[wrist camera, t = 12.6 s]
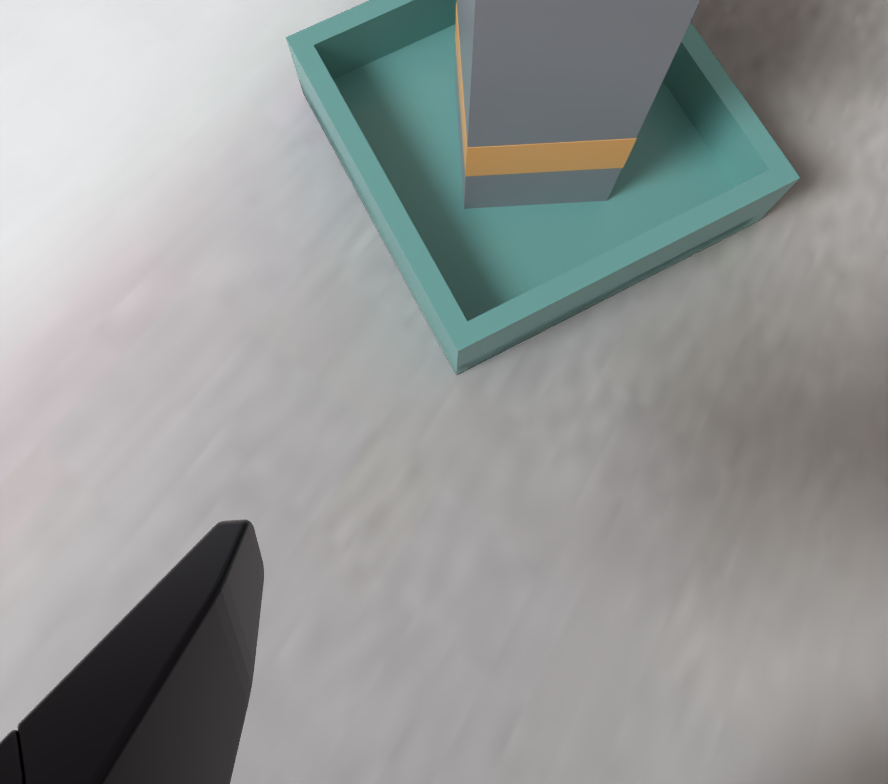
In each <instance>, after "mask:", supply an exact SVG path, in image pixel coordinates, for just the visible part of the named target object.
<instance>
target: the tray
mask: <svg viewBox="0 0 888 784" xmlns="http://www.w3.org/2000/svg"><path fill="white" fill-rule="evenodd" d="M456 3H457V0H369V1H367V2H365V3H362V4H360V5H358V6H356V7H353V8H351V9H349V10H347V11H344V12H342V13H340V14H338V15H335V16H333V17H331V18H329V19H326V20H324V21H322V22H320V23H317V24H315V25H313V26H311V27H308V28H306V29H304V30H302V31H299V32H297V33H295V34H293V35H290V36H288V37H286V39H287V43H288V46H289V49H290V52H291V55H292V59H293V62H294V65H295V68H296V71H297V74H298V78H299V81H300V84H301V87H302V90H303V94H304V96H305V97H306V99H307V101H308V103H309V105H310V107H311V108H312V110H313V112H314V114H315V116H316V118H317V120H318V121H319V123H320V125H321V127H322V129H323V131H324V132H325V134H326V136H327V138H328V140H329V142H330V143H331V145H332V147H333V149H334V151H335V153H336V154H337V156H338V158H339V160H340V162H341V164H342V166H343V167H344V169H345V171H346V173H347V175H348V177H349V178H350V180H351V182H352V184H353V186H354V188H355V189H356V191H357V193H358V195H359V197H360V199H361V200H362V202H363V204H364V206H365V208H366V210H367V212H368V213H369V215H370V217H371V219H372V221H373V223H374V224H375V226H376V228H377V230H378V232H379V234H380V235H381V237H382V239H383V241H384V243H385V245H386V246H387V248H388V250H389V252H390V254H391V256H392V257H393V259H394V261H395V263H396V265H397V267H398V269H399V270H400V272H401V274H402V276H403V278H404V280H405V281H406V283H407V285H408V287H409V289H410V291H411V292H412V294H413V296H414V298H415V300H416V302H417V303H418V305H419V307H420V309H421V311H422V313H423V315H424V316H425V318H426V320H427V322H428V324H429V326H430V327H431V329H432V331H433V333H434V335H435V337H436V338H437V340H438V342H439V344H440V346H441V348H442V349H443V351H444V353H445V355H446V357H447V359H448V361H449V362H450V364H451V366H452V368H453V370H454V372H455V373H456V375H458V374H460V373H462V372H464V371H466V370H467V369H469V368H471V367H473V366H475V365H477V364H479V363H481V362H483V361H485V360H487V359H489V358H491V357H493V356H495V355H497V354H499V353H501V352H503V351H505V350H507V349H509V348H511V347H513V346H515V345H516V344H518V343H520V342H522V341H524V340H526V339H528V338H530V337H532V336H534V335H536V334H538V333H540V332H542V331H544V330H546V329H548V328H550V327H552V326H554V325H556V324H558V323H560V322H562V321H564V320H565V319H567V318H569V317H571V316H573V315H575V314H577V313H579V312H581V311H583V310H585V309H587V308H589V307H591V306H593V305H595V304H597V303H599V302H601V301H603V300H605V299H607V298H609V297H611V296H613V295H614V294H616V293H618V292H620V291H622V290H624V289H626V288H628V287H630V286H632V285H634V284H636V283H638V282H640V281H642V280H644V279H646V278H648V277H650V276H652V275H654V274H656V273H658V272H660V271H662V270H664V269H665V268H667V267H669V266H671V265H673V264H675V263H677V262H679V261H681V260H683V259H685V258H687V257H689V256H691V255H693V254H695V253H697V252H699V251H701V250H703V249H705V248H707V247H709V246H711V245H713V244H714V243H716V242H718V241H720V240H722V239H724V238H726V237H728V236H730V235H732V234H734V233H736V232H738V231H740V230H742V229H744V228H746V227H748V226H750V225H752V224H754V223H756V222H758V221H759V220H760V219H761V218H762V217H763V216H764V215H765V214H766V213H767V212H768V211H769V210H770V209H771V208H772V207H773V206H774V205H775V204H776V203H777V202H778V200H779V199H780V198H781V197H782V196H783V195H784V194H785V193H786V192H787V191H788V190H789V189H790V188H791V187H792V186H793V185H794V184H795V183H796V182H797V181H798V180H799V179H800V177H799V175H798V174H797V173H796V171H795V170H794V168H793V167H792V165H791V164H790V163H789V161H788V160H787V158H786V157H785V155H784V154H783V153H782V151H781V150H780V148H779V147H778V145H777V144H776V143H775V141H774V140H773V138H772V137H771V135H770V134H769V133H768V131H767V130H766V128H765V127H764V125H763V124H762V123H761V121H760V120H759V118H758V117H757V115H756V114H755V113H754V111H753V110H752V108H751V107H750V105H749V104H748V103H747V101H746V100H745V98H744V97H743V95H742V94H741V93H740V91H739V90H738V88H737V87H736V85H735V84H734V83H733V81H732V80H731V78H730V77H729V75H728V74H727V73H726V71H725V70H724V68H723V67H722V65H721V64H720V63H719V61H718V60H717V58H716V57H715V55H714V54H713V53H712V51H711V50H710V48H709V47H708V45H707V44H706V43H705V41H704V40H703V38H702V37H701V35H700V34H699V33H698V31H697V30H696V28H695V27H694V25H693V24H692V23H691V21H690V24H689V26H688V28H687V30H686V32H685V34H684V36H683V39H682V41H681V43H680V45H679V47H678V49H677V51H676V54H675V56H674V58H673V60H672V62H671V64H670V66H669V69H668V71H667V73H666V75H665V77H664V79H663V81H662V84H661V86H660V88H659V90H658V92H657V94H656V96H655V99H654V101H653V103H652V105H651V107H650V109H649V111H648V114H647V116H646V118H645V120H644V122H643V124H642V126H641V129H640V131H639V133H638V135H637V139H636V142H635V144H634V146H633V148H632V150H631V152H630V154H629V156H628V159H627V161H626V163H625V165H624V167H623V168H622V169H621V172H620V174H619V176H618V178H617V180H616V182H615V184H614V187H613V189H612V191H611V193H610V195H609V197H608V199H607V201H594V202H576V203H558V204H541V205H523V206H505V207H487V208H469V209H464V201H463V187H462V173H461V160H460V146H459V132H458V118H457V104H456V90H455V58H456V43H455V24H456Z"/></svg>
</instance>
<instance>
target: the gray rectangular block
mask: <svg viewBox="0 0 888 784" xmlns="http://www.w3.org/2000/svg"><path fill="white" fill-rule="evenodd" d="M699 2H700V0H457V3H456V24H455V43H456V58H455V90H456V104H457V118H458V132H459V146H460V160H461V173H462V187H463V201H464V209H469V208H487V207H505V206H523V205H541V204H558V203H576V202H594V201H607V199H608V197H609V195H610V193H611V191H612V189H613V187H614V184H615V182H616V180H617V178H618V176H619V174H620V172H621V169H622V168H623V167H624V165H625V163H626V161H627V159H628V156H629V154H630V152H631V150H632V148H633V146H634V144H635V142H636V139H637V135H638V133H639V131H640V129H641V126H642V124H643V122H644V120H645V118H646V116H647V114H648V111H649V109H650V107H651V105H652V103H653V101H654V99H655V96H656V94H657V92H658V90H659V88H660V86H661V84H662V81H663V79H664V77H665V75H666V73H667V71H668V69H669V66H670V64H671V62H672V60H673V58H674V56H675V54H676V51H677V49H678V47H679V45H680V43H681V41H682V39H683V36H684V34H685V32H686V30H687V28H688V26H689V24H690V21H691V19H692V17H693V15H694V13H695V11H696V9H697V6H698V4H699Z"/></svg>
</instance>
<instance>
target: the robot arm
mask: <svg viewBox="0 0 888 784" xmlns="http://www.w3.org/2000/svg"><path fill="white" fill-rule="evenodd" d="M263 582H264V567H263V561H262V557H261V553H260V549H259V545H258V542H257V538H256V534H255V530H254V527H253V525H252V523H251V522H250V521H248V520H231V521H222V522H219V523H218V524H216V525H215V526H214V527H213V528H212V529H211V530H210V531H209V532H208V533H207V534H206V535H205V536H204V537H203V538H202V539H201V540H200V541H199V542H198V543H197V544H196V545H195V546H194V547H193V548H192V549H191V550H190V551H189V552H188V553H187V554H186V555H185V556H184V557H183V558H182V559H181V560H180V561H179V563H178V564H177V565H176V566H175V567H174V568H173V569H172V570H171V571H170V572H169V573H168V574H167V575H166V576H165V577H164V578H163V579H162V580H161V581H160V582H159V583H158V584H157V585H156V586H155V587H154V588H153V589H152V590H151V591H150V592H149V593H148V594H147V595H146V596H145V597H144V598H143V599H142V600H141V601H140V602H139V603H138V604H137V605H136V606H135V607H134V608H133V609H132V610H131V611H130V612H129V613H128V614H127V615H126V616H125V617H124V618H123V619H122V620H121V621H120V622H119V623H118V624H117V625H116V626H115V627H114V628H113V629H112V630H111V631H110V632H109V633H108V634H107V635H106V636H105V637H104V638H103V639H102V640H101V641H100V642H99V643H98V644H97V645H96V646H95V647H94V648H93V649H92V650H91V651H90V652H89V653H88V654H87V655H86V656H85V657H84V658H83V659H82V660H81V661H80V662H79V663H78V664H77V665H76V666H75V667H74V668H73V669H72V671H71V672H70V673H69V674H68V675H67V676H66V677H65V678H64V679H63V680H62V681H61V682H60V683H59V684H58V685H57V686H56V687H55V688H54V689H53V690H52V691H51V692H50V693H49V694H48V695H47V696H46V697H45V698H44V699H43V700H42V701H41V702H40V703H39V704H38V705H37V706H36V707H35V708H34V709H33V710H32V711H31V712H30V713H29V714H28V715H27V716H26V717H25V718H24V719H23V720H22V721H21V722H20V723H19V724H18V727H17V728H18V731H17V730H13V731H11V732H10V733H9V734H8V735H7V736H6V737H5V738H4V739H3V740H2V741H1V742H0V784H230V781H231V777H232V772H233V768H234V763H235V759H236V755H237V750H238V746H239V742H240V737H241V733H242V729H243V724H244V720H245V715H246V711H247V707H248V702H249V697H250V692H251V687H252V680H253V672H254V664H255V655H256V646H257V637H258V628H259V619H260V610H261V600H262V591H263Z"/></svg>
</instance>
